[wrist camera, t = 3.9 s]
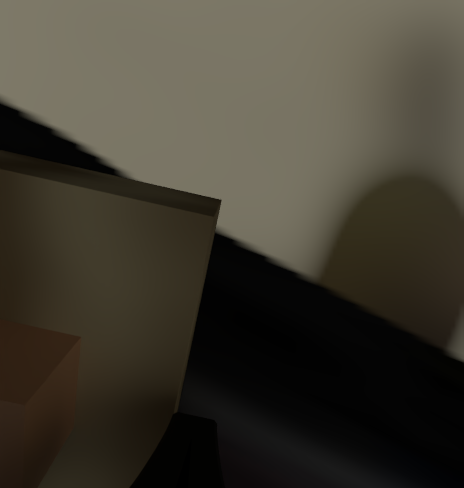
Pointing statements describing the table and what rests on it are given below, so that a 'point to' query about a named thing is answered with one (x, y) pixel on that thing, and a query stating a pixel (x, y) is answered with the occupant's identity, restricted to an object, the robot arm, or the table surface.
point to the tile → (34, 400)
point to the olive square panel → (106, 301)
